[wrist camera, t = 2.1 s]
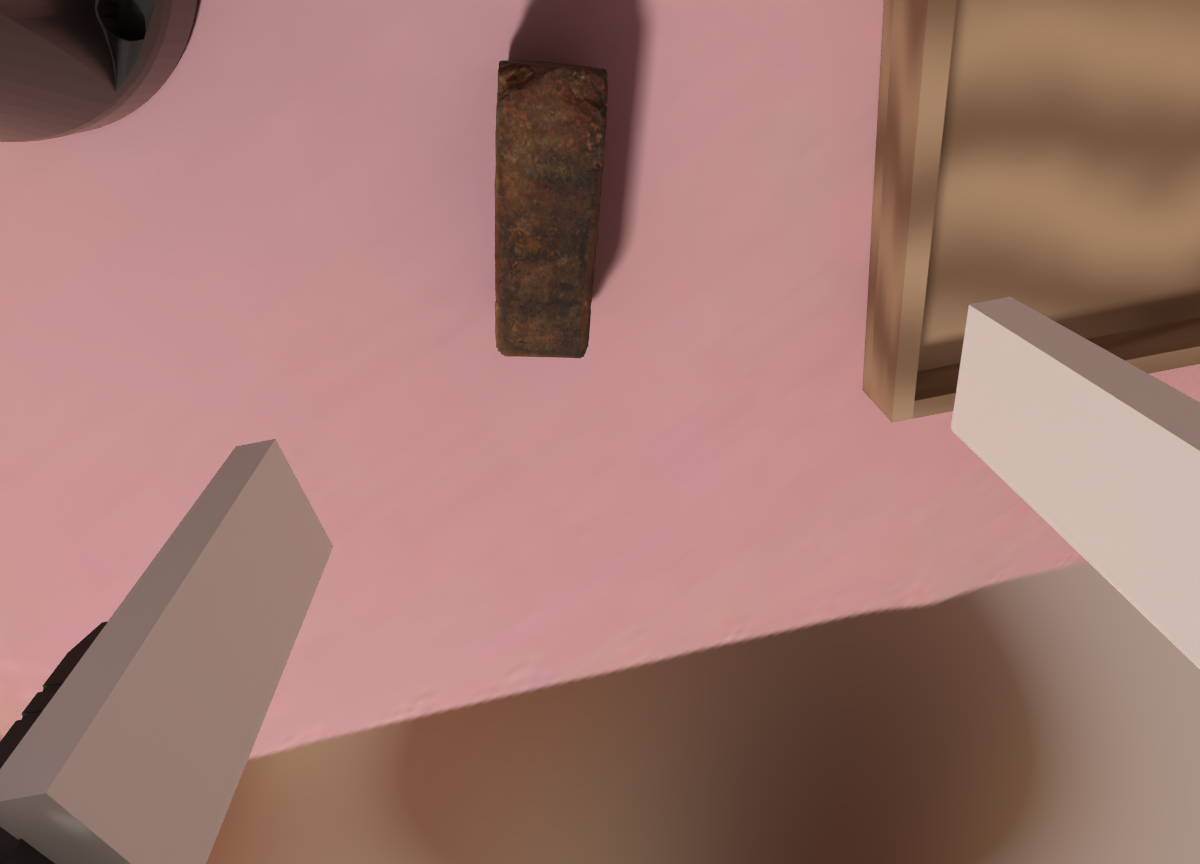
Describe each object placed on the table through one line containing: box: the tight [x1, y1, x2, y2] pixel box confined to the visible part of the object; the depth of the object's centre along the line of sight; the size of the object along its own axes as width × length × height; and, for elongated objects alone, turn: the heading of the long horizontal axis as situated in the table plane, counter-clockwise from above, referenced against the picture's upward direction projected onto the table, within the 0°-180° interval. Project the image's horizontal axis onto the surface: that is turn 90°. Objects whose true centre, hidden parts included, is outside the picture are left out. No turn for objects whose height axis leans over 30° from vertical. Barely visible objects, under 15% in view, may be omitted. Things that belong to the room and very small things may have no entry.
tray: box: [863, 0, 1200, 422], centre depth 26 cm, size 22×22×3 cm
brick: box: [495, 61, 608, 358], centre depth 26 cm, size 11×4×5 cm, turn 175°
